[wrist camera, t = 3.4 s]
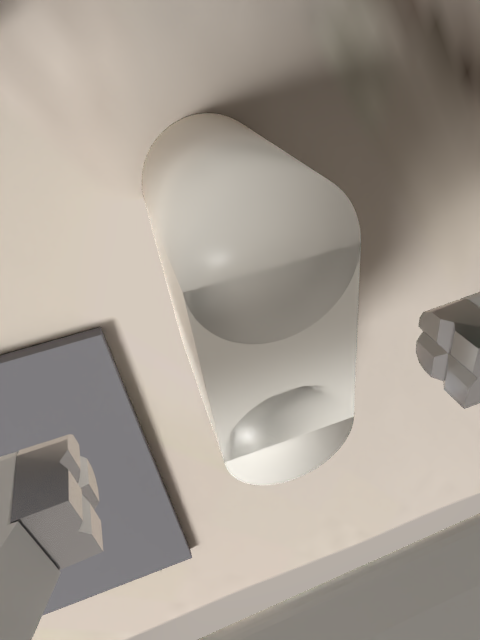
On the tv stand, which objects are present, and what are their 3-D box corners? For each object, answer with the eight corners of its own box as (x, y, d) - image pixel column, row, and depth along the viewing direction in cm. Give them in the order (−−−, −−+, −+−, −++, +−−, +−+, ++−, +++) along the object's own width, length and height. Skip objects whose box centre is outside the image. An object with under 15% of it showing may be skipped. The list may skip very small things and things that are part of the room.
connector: (261, 100, 11) (364, 148, 7) (287, 389, 18) (350, 497, 14) (125, 129, 11) (159, 197, 7) (202, 417, 17) (243, 539, 13)
